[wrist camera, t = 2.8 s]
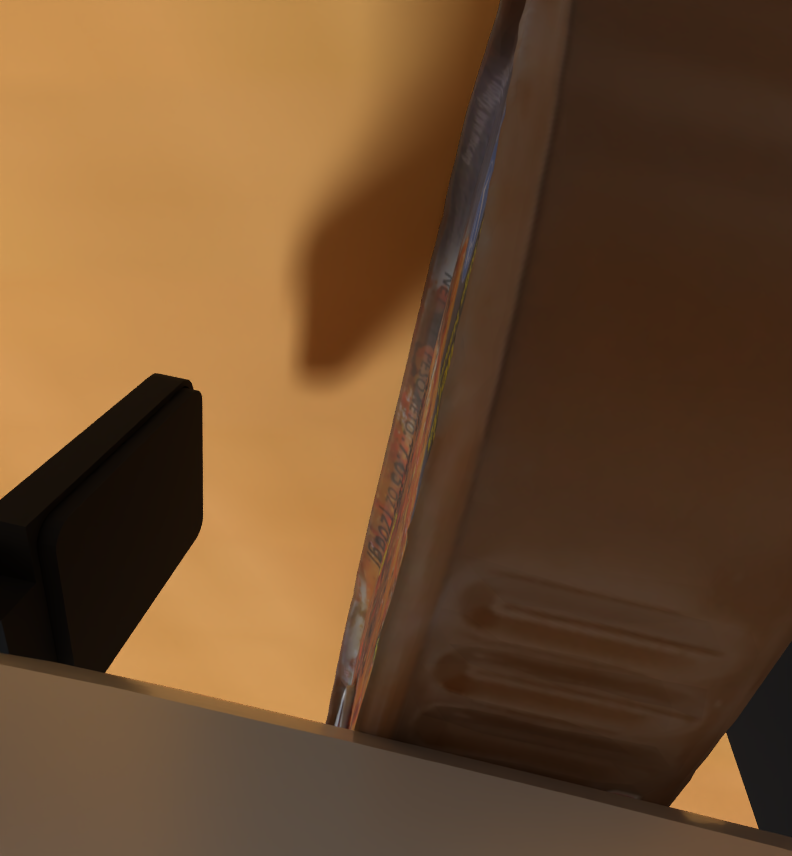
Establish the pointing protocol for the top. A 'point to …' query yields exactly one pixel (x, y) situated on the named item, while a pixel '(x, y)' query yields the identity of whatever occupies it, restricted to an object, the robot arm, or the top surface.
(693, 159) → the tin
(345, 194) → the top surface
